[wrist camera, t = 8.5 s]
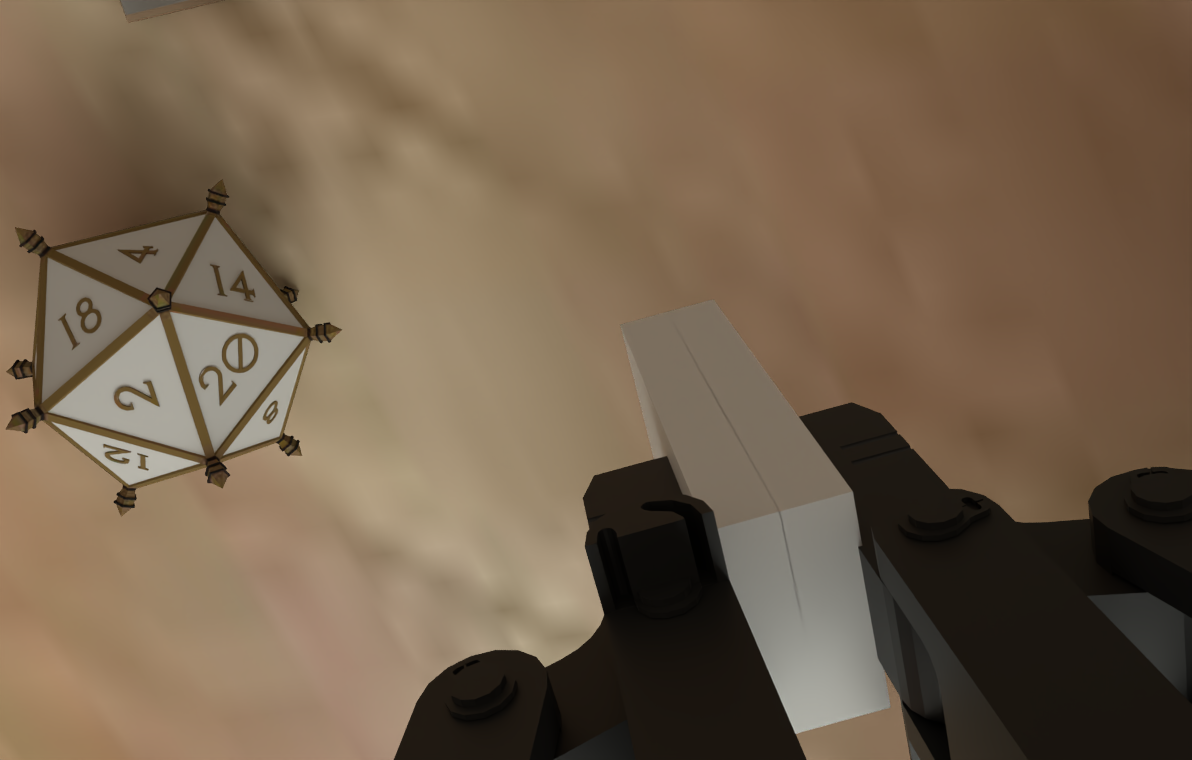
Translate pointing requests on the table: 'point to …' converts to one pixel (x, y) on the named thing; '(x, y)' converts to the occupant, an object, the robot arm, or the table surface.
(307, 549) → the table surface
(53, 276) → the game die
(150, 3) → the board
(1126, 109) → the table surface
